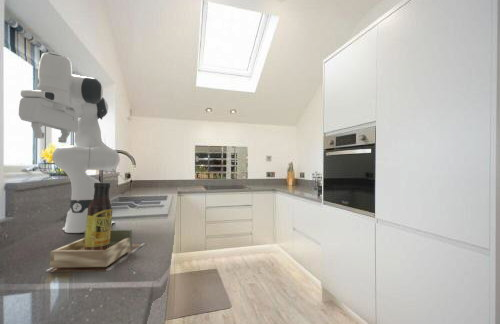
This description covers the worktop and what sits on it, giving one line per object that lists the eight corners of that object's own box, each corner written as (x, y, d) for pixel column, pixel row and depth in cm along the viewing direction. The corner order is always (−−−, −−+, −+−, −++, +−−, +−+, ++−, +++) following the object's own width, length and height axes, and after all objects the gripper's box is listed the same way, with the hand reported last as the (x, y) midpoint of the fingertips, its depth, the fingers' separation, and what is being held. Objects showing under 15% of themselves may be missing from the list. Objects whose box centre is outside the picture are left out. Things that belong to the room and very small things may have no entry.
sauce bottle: (96, 255, 62) (100, 183, 63) (78, 253, 63) (82, 182, 64) (115, 247, 68) (118, 182, 69) (98, 246, 69) (102, 182, 71)
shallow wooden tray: (85, 252, 71) (87, 229, 71) (131, 252, 72) (132, 229, 72) (49, 271, 57) (50, 242, 57) (105, 270, 58) (107, 242, 58)
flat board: (99, 247, 80) (99, 243, 80) (145, 246, 81) (145, 242, 81) (44, 275, 57) (45, 270, 57) (109, 274, 58) (109, 269, 58)
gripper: (67, 109, 86) (65, 144, 85) (15, 88, 66) (11, 134, 65) (84, 109, 87) (82, 145, 86) (37, 89, 66) (34, 135, 65)
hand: (51, 140), depth 75 cm, fingers open, 8 cm apart
